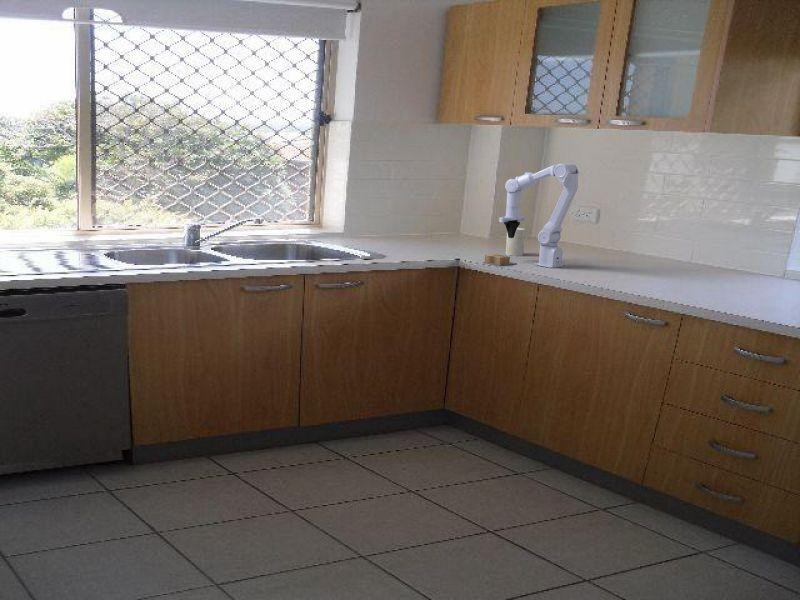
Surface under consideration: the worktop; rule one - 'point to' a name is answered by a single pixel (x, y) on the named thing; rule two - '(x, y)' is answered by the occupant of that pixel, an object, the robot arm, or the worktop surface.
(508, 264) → the mat
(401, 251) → the worktop surface
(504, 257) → the slab
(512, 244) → the cup
